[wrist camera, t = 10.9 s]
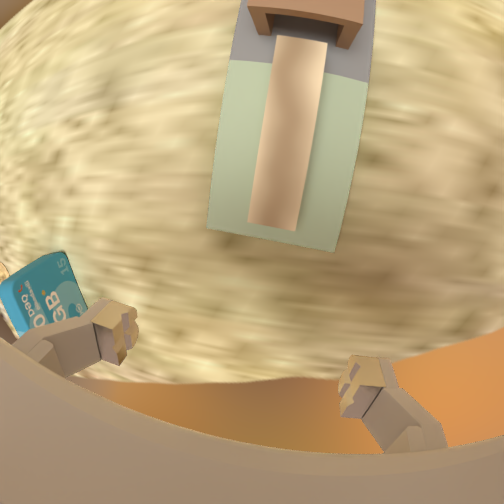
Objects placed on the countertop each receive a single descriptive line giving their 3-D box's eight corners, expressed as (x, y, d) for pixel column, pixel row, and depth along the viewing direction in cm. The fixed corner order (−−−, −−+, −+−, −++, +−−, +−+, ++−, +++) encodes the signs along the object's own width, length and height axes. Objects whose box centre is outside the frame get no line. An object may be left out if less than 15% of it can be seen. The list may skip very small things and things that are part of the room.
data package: (93, 318, 39) (49, 365, 28) (75, 318, 40) (32, 360, 29) (64, 248, 35) (7, 284, 24) (48, 252, 36) (-6, 285, 25)
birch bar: (323, 56, 21) (327, 43, 17) (295, 218, 27) (295, 231, 23) (280, 49, 21) (277, 34, 18) (253, 210, 27) (247, 222, 24)
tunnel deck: (372, -38, 16) (389, -77, 8) (332, 246, 30) (343, 284, 22) (259, -55, 17) (247, -97, 9) (211, 222, 31) (182, 252, 23)
